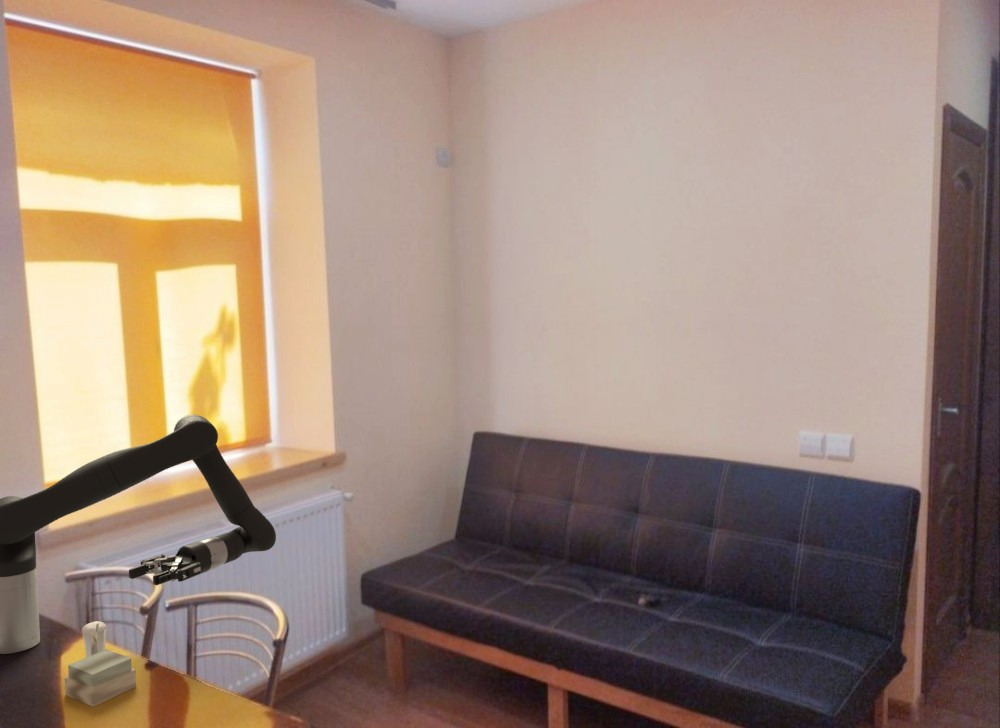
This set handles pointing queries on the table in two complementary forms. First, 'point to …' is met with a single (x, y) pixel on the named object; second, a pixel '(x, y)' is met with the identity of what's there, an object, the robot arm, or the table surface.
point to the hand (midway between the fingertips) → (141, 577)
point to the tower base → (100, 689)
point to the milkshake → (94, 637)
